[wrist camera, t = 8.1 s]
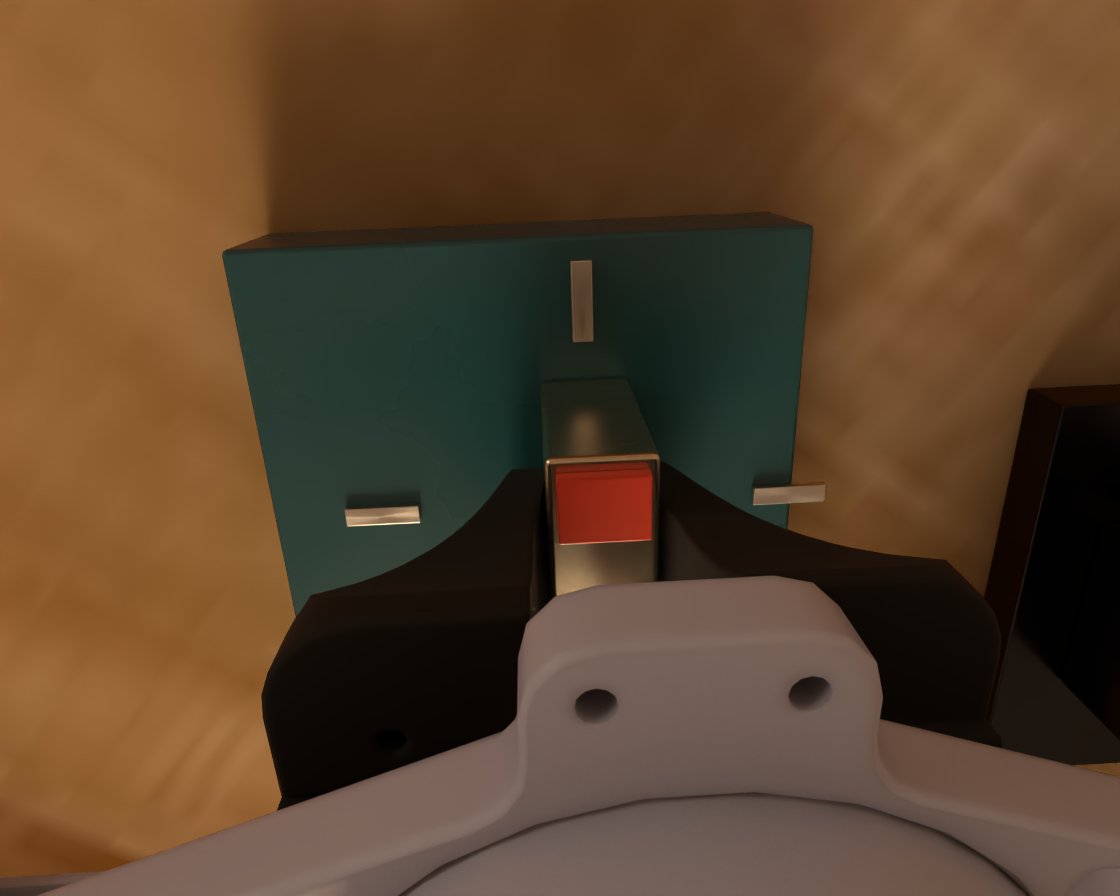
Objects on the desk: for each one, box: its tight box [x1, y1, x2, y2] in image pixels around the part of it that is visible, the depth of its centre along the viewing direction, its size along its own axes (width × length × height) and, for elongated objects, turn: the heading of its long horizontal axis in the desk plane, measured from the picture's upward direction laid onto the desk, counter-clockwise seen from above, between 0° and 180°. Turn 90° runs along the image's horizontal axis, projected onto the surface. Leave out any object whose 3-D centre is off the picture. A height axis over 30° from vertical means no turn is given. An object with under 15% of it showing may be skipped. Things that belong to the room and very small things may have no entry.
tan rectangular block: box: [540, 378, 660, 601], centre depth 13 cm, size 5×2×4 cm, turn 2°
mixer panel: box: [222, 212, 826, 617], centre depth 16 cm, size 12×11×3 cm
